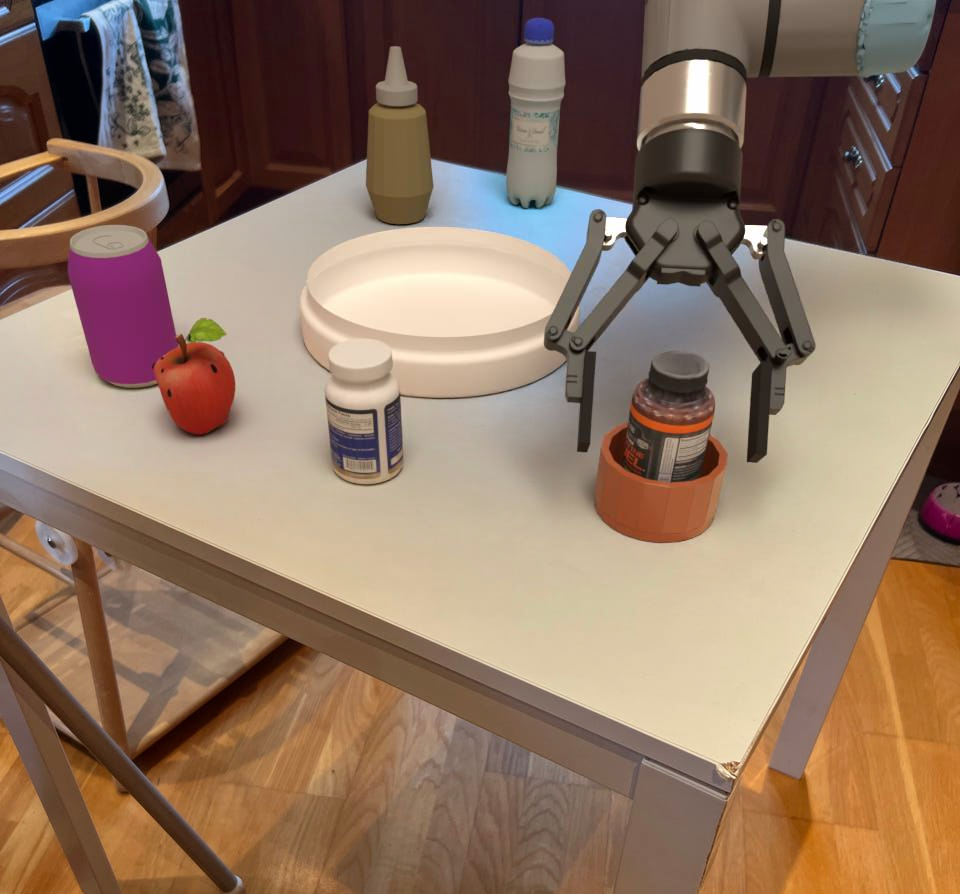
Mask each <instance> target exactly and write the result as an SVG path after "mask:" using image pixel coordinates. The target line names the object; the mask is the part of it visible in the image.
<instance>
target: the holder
mask: <svg viewBox="0 0 960 894" xmlns="http://www.w3.org/2000/svg"><path fill="white" fill-rule="evenodd" d="M627 426H628V421H626V422H623V423H621V424H617V425H616V426H615V427H613V428H612V429H611V430H610V431H608V432H607V433H606V434H605V435H603V439H602V443H601V446H600V451H599V456H598V457H599V458H598V467H597V474H596V482H595V489H594V506H595V510H596V512H597V514H598V516H599V517H600V519H601V520H602V521H603V522H605V524H606V525H607V526H609V527H610V528H612V529H613V530H615V531H617V532H618V533H620V534H622V535H624V536H627V537H630V538H634V539H636V540H640V541H644V542H651V543H662V544H663V543H666V544H667V543H678V542H683V541H687V540H691V539H693V538H696V537H698V536H699V535H701V534H703V533H704V532H705V531H707V530H708V528H710V526H711V525H712V523H713V521H714V518H715V515H716V512H717V507H718V503H719V499H720V494H721V490H722V486H723V483H724V478H725V473H726V471H727V470H726V469H727V464H728V453H727V451H726V449H725V448H724V446H723V444H722V443H721V441H720V440H719V439H717V438H716V437H714V436H713V435H712V434H709V439H708V443H707V448H706V453H705V457H704V462H703V466H702V471H701V475H700V478H698V479H696V480H693V481H685V482H663V481H656V480H650V479H646V478H643V477H641V476H638V475H636V474H633V473H631V472H628V471H626V470H625V469H624V468H623V467H622V459H623V452H624V446H625V439H626V433H627Z"/></svg>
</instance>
